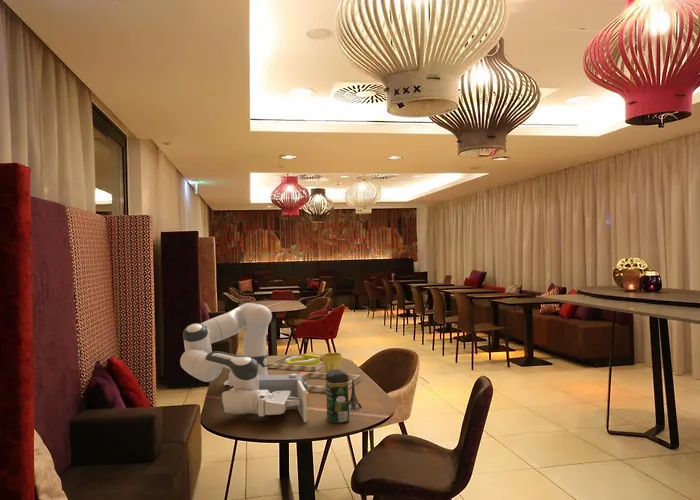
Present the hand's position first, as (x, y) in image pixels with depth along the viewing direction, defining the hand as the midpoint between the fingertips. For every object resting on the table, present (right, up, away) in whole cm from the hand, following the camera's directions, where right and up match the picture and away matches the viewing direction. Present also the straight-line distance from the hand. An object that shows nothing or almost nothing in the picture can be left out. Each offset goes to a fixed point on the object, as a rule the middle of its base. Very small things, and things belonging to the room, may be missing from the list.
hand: (300, 401), depth 201 cm
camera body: (-10, -7, +18) cm, 22 cm away
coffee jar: (+14, -7, -2) cm, 16 cm away
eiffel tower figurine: (+20, -7, +14) cm, 25 cm away
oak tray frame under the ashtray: (-9, -8, +99) cm, 100 cm away
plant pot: (+10, -7, +78) cm, 79 cm away
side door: (+1, -7, +4) cm, 8 cm away
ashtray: (-8, -8, +99) cm, 99 cm away
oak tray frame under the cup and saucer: (+6, -7, +53) cm, 53 cm away
